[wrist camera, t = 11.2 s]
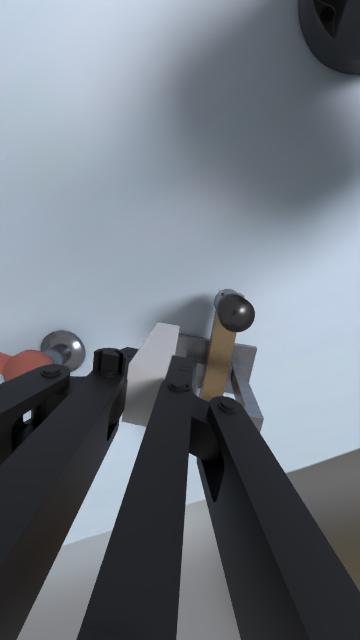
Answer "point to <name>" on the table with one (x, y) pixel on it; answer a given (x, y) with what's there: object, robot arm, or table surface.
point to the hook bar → (224, 339)
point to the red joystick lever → (22, 363)
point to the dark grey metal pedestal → (64, 349)
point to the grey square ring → (236, 372)
